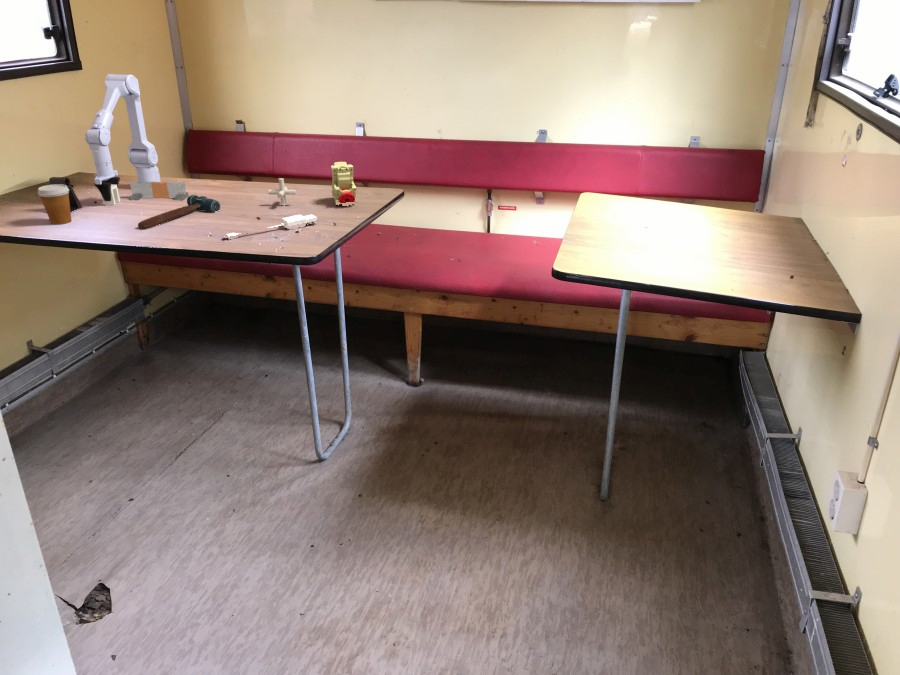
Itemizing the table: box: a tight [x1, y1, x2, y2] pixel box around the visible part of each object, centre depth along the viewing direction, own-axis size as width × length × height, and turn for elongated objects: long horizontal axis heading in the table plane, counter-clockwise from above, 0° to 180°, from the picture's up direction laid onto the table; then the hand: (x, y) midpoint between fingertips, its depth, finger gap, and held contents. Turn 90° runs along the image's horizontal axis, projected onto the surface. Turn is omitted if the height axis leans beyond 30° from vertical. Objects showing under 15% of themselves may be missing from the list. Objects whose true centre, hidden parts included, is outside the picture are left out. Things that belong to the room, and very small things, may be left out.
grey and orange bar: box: [129, 181, 189, 201], centre depth 263 cm, size 6×20×6 cm, turn 90°
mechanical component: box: [330, 161, 358, 203], centre depth 255 cm, size 8×17×20 cm, turn 18°
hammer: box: [137, 194, 221, 230], centre depth 240 cm, size 14×5×30 cm
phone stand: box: [48, 176, 83, 213], centre depth 245 cm, size 9×6×12 cm, turn 170°
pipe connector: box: [267, 177, 297, 205], centre depth 253 cm, size 10×10×10 cm
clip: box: [101, 184, 121, 206], centre depth 255 cm, size 5×4×6 cm
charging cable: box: [225, 214, 318, 237], centre depth 227 cm, size 5×32×3 cm, turn 126°
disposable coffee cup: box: [37, 184, 72, 225], centre depth 233 cm, size 10×10×12 cm
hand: (111, 199), depth 256 cm, fingers closed on clip, 5 cm apart
